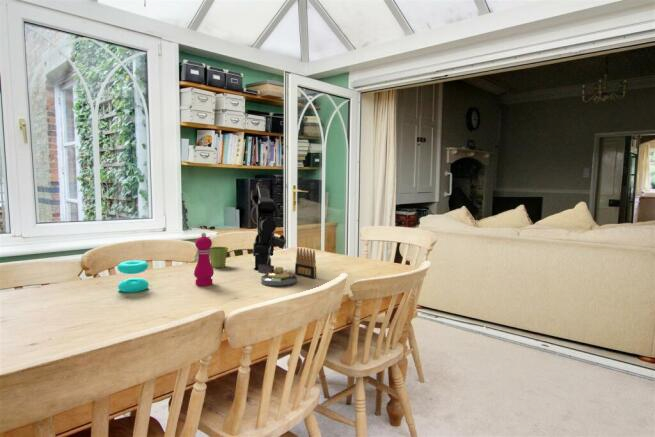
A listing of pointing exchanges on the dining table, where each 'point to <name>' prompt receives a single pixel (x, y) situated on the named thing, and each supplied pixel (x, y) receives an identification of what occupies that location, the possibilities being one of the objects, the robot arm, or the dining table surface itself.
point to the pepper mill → (203, 262)
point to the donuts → (133, 283)
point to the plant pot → (218, 256)
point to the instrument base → (278, 281)
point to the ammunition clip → (305, 264)
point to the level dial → (271, 273)
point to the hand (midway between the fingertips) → (265, 266)
